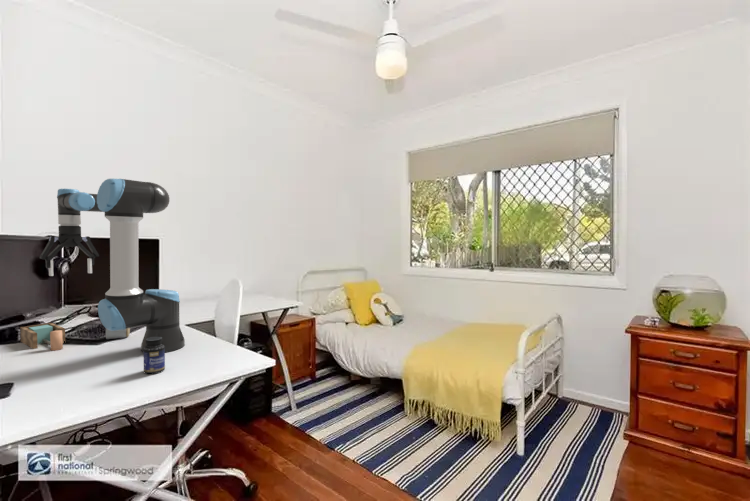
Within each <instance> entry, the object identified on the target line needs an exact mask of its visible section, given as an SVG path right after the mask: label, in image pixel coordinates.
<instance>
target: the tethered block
mask: <svg viewBox="0 0 750 501" xmlns="http://www.w3.org/2000/svg"><path fill="white" fill-rule="evenodd" d="M29 329H30V330H32V331H34V332H36V333H37V345H38V344H39V345H40V344H47V345H50V351H52V352H53V351H60V350H63V349H64V348H63V347H64V346H63V345H64V343H63V338H62V330H56V331H53V327H52V326H50V325H42V326H36V327H29Z"/></svg>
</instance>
